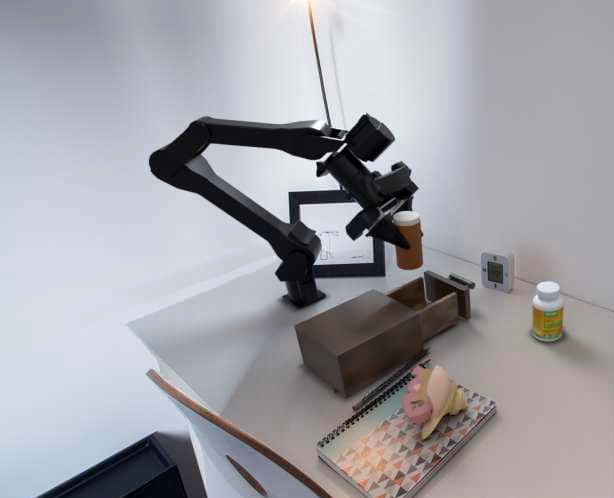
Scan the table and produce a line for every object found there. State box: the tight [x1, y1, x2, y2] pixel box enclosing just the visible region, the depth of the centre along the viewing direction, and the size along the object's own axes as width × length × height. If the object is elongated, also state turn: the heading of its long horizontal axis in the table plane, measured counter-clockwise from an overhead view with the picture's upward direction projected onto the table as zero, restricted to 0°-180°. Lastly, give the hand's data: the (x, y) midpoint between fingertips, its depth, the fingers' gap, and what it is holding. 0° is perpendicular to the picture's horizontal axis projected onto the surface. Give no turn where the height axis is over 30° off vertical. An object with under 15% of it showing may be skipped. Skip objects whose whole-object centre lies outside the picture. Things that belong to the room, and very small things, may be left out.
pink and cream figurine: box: [401, 364, 469, 440], centre depth 75 cm, size 9×10×10 cm
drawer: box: [383, 269, 476, 342], centre depth 97 cm, size 19×11×6 cm, turn 137°
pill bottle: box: [392, 210, 424, 271], centre depth 99 cm, size 5×5×10 cm
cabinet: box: [293, 288, 425, 399], centre depth 88 cm, size 16×13×8 cm
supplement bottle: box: [531, 280, 565, 343], centre depth 93 cm, size 5×5×10 cm
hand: (415, 242), depth 99 cm, fingers closed on pill bottle, 5 cm apart
